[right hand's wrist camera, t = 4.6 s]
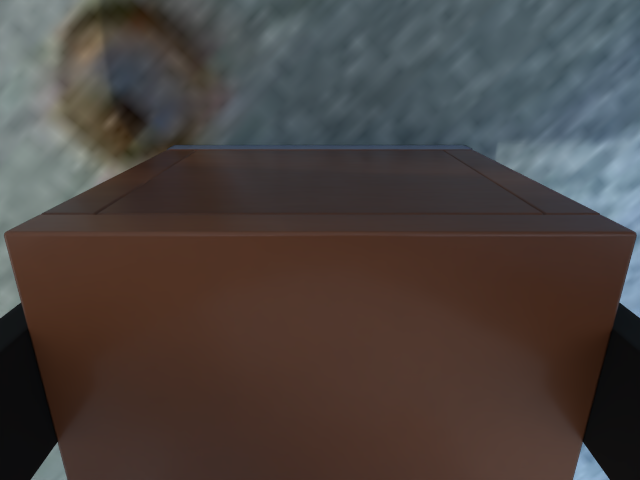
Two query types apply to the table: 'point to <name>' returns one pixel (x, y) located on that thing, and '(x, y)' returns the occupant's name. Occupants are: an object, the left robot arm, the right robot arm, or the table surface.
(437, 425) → the cabinet
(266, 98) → the table surface
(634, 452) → the right robot arm
